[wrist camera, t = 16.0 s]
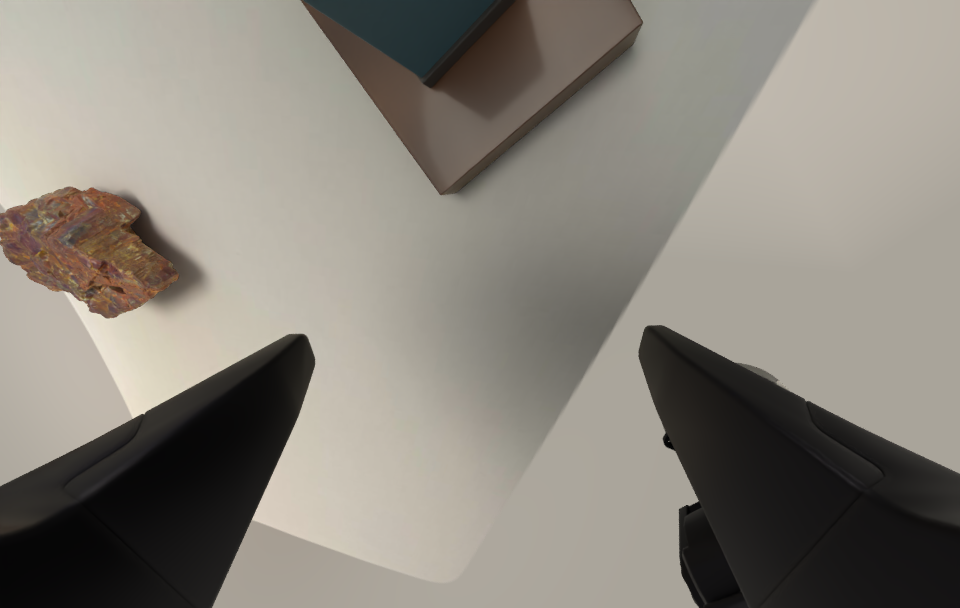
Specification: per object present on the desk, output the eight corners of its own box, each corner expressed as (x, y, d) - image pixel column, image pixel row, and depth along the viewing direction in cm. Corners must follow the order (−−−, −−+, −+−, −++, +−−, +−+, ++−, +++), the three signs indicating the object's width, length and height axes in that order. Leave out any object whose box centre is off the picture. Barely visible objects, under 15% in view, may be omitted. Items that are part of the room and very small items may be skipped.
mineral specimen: (128, 158, 23) (37, 224, 19) (223, 246, 29) (169, 312, 24) (19, 193, 26) (-79, 256, 22) (123, 266, 32) (60, 326, 28)
